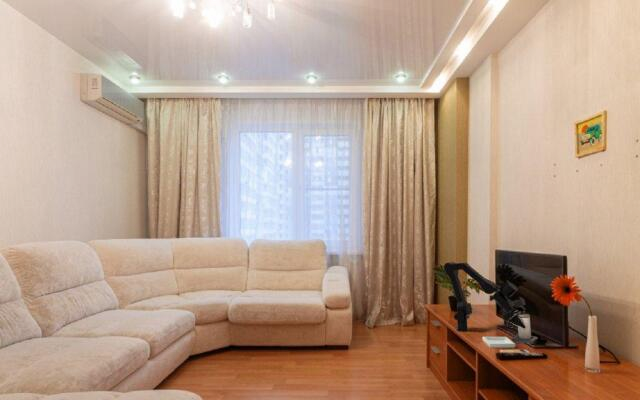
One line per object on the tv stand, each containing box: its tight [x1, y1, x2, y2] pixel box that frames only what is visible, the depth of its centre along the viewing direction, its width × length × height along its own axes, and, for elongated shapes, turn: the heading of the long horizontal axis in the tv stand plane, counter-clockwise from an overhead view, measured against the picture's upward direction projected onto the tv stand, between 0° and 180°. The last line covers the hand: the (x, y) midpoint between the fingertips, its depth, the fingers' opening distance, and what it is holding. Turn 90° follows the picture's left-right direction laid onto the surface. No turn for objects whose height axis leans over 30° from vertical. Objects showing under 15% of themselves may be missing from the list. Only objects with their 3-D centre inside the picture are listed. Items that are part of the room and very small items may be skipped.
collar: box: [511, 333, 539, 345], centre depth 200 cm, size 9×9×2 cm
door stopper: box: [503, 320, 518, 329], centre depth 230 cm, size 9×6×12 cm, turn 169°
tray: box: [482, 336, 516, 349], centre depth 197 cm, size 12×12×2 cm
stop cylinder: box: [517, 313, 532, 340], centre depth 201 cm, size 6×6×12 cm
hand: (527, 326), depth 200 cm, fingers closed on stop cylinder, 5 cm apart
